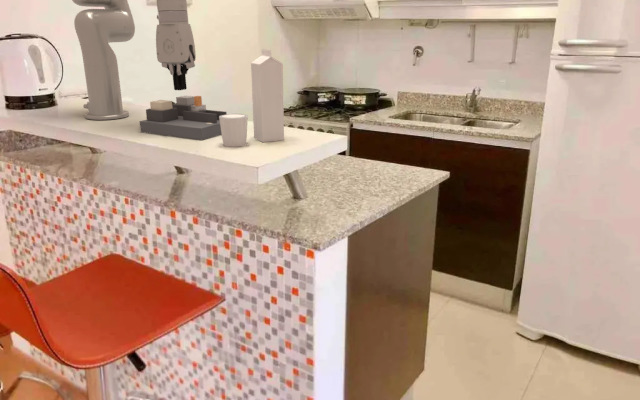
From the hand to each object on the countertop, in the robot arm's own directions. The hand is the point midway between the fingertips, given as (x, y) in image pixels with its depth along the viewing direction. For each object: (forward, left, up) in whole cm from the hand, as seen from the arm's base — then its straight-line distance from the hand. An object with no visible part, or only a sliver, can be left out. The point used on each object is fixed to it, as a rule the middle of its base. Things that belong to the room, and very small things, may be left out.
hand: (180, 89), depth 145 cm
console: (+4, 0, -11) cm, 11 cm away
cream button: (-3, -5, -6) cm, 8 cm away
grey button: (-3, +5, -6) cm, 8 cm away
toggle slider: (+6, 0, -7) cm, 9 cm away
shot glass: (+24, -9, -11) cm, 28 cm away
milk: (+28, 0, -11) cm, 30 cm away
